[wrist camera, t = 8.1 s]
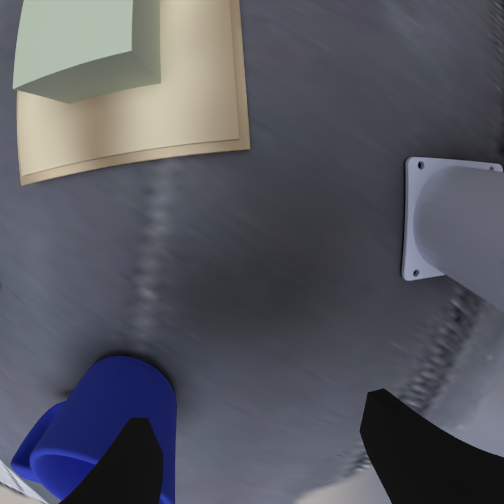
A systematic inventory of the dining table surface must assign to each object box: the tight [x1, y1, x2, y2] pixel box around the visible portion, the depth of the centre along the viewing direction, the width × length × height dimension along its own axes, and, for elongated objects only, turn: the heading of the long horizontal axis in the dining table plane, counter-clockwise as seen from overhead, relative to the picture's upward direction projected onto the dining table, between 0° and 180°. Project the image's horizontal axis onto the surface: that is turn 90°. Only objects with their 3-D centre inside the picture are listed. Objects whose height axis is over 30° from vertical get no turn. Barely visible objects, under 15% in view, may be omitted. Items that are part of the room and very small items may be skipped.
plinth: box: [17, 0, 250, 186], centre depth 13 cm, size 13×13×2 cm
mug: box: [11, 356, 177, 504], centre depth 16 cm, size 8×12×10 cm
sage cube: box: [13, 0, 161, 104], centre depth 10 cm, size 5×5×5 cm
